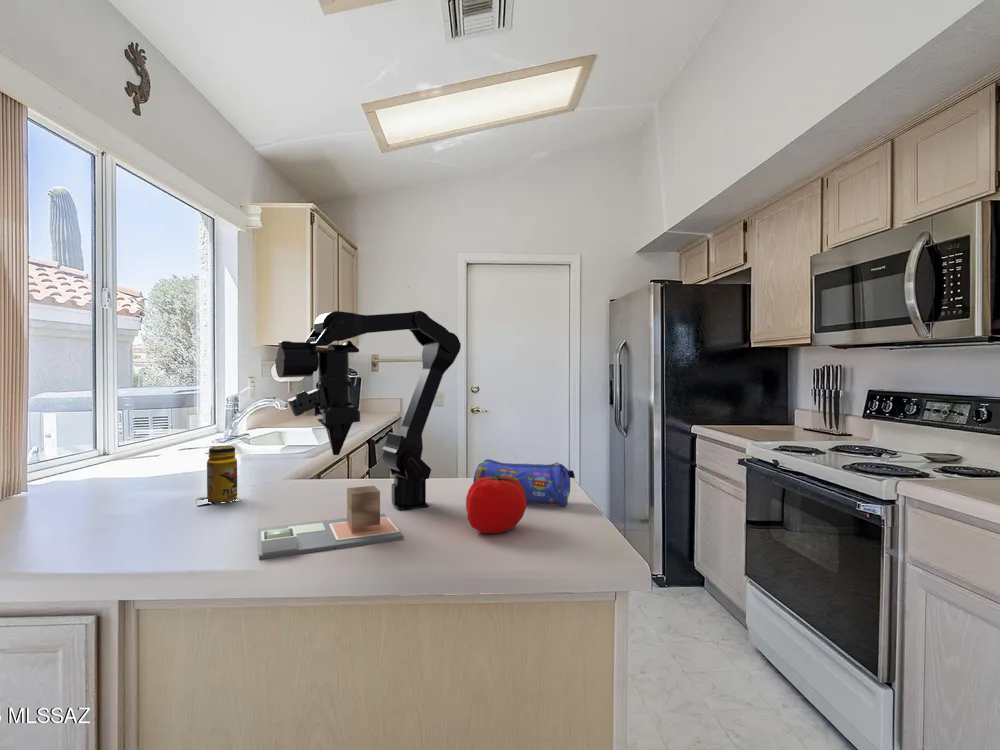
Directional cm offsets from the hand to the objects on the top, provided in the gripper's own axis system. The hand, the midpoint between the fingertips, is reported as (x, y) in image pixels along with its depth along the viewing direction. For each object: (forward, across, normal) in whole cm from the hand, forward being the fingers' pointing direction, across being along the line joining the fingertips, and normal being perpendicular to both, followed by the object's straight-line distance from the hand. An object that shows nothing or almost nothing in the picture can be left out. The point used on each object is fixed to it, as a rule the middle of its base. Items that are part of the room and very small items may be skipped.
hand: (335, 454), depth 104 cm
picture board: (+13, +10, -3) cm, 16 cm away
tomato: (+13, +20, +25) cm, 35 cm away
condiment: (+13, -26, -22) cm, 36 cm away
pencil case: (+14, +5, +39) cm, 42 cm away
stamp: (+12, +10, +3) cm, 16 cm away
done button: (+11, +14, -12) cm, 21 cm away
